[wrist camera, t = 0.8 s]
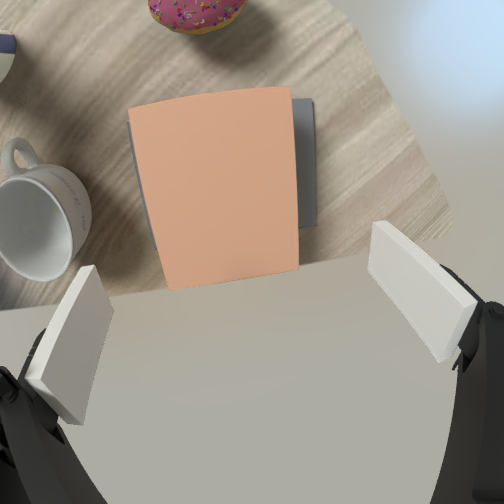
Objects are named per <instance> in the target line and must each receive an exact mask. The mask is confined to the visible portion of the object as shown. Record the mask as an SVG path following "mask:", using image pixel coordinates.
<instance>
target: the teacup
mask: <svg viewBox="0 0 504 504" xmlns="http://www.w3.org/2000/svg"><path fill="white" fill-rule="evenodd" d="M15 149H17V150H18V151H19V152H20V153H21V154H22V156H23V157H24V158H25V160H26V162H27V164H28V165H29V169H28V170H27V169H25V168H20V167H18V166H17V164H16V163H15V160H14V150H15ZM1 163H2V167H3V169H4V171H5V172H6V174H7V175H8V176H9V179H7V180H6V181H4V182H3V183H2V184H0V255H1V257H2V258H3V259H4V261H5V262H6V263H7V264H8V265H9V266H10V267H11V268H12V269H13V270H14V271H15V272H17V273H18V274H20V275H21V276H23V277H25V278H27V279H30V280H33V281H37V282H49V281H53V280H56V279H58V278H60V277H61V276H62V275H63V274H64V273H65V272H66V271H67V269H68V267H69V266H70V264H71V261H72V260H73V259H74V257H75V256H76V254H77V253H78V251H79V250H80V248H81V247H82V245H83V244H84V242H85V240H86V238H87V236H88V233H89V230H90V226H91V221H92V210H91V204H90V199H89V196H88V194H87V191H86V189H85V187H84V186H83V184H82V183H81V181H80V180H79V179H78V177H77V176H76V175H75V174H74V173H72V172H71V171H69V170H68V169H66V168H64V167H62V166H59V165H55V164H44V163H43V161H42V160H41V159H39V158H38V156H37V154H36V153H35V151H34V149H33V148H32V146H31V145H30V144H29V142H28V141H26V140H25V139H23V138H14V139H12V140H11V141H9V142H8V143H7V144H6V145H5V146H4V148H3V150H2V154H1Z"/></svg>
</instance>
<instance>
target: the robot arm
mask: <svg viewBox="0 0 504 504" xmlns="http://www.w3.org/2000/svg"><path fill="white" fill-rule="evenodd" d="M367 271H368V272H369V273H370V274H371V276H372V277H373V278H374V279H375V280H376V282H377V283H378V284H379V285H380V286H381V288H382V289H383V290H384V291H385V293H386V294H387V295H388V296H389V298H390V299H391V300H392V301H393V303H394V304H395V305H396V307H397V308H398V309H399V310H400V312H401V313H402V314H403V315H404V317H405V318H406V319H407V321H408V322H409V323H410V325H411V326H412V327H413V329H414V330H415V331H416V333H417V334H418V335H419V337H420V338H421V340H422V341H423V342H424V344H425V345H426V346H427V348H428V349H429V351H430V352H431V353H432V355H433V356H434V358H435V359H436V360H437V362H438V363H439V362H441V361H443V360H446V359H448V358H450V357H452V355H453V353H454V352H455V350H456V348H457V346H459V348H460V349H461V350H462V351H461V353H460V355H459V356H458V358H457V360H456V362H455V364H454V365H453V368H452V370H455V368H456V366H457V365H458V370H457V371H458V377H457V386H456V395H455V403H454V409H453V416H452V422H451V427H450V432H449V437H448V443H447V446H446V451H445V455H444V459H443V463H442V467H441V470H440V474H439V477H438V480H437V484H436V487H435V490H434V493H433V496H432V499H431V502H430V504H504V306H503V305H501V304H499V303H497V302H492V301H490V302H487V303H485V302H484V301H483V300H482V299H481V298H480V297H479V296H478V295H477V294H476V293H475V292H474V291H473V290H472V289H471V288H470V287H469V286H468V285H467V284H464V281H462V280H461V279H460V278H458V276H457V275H456V274H455V273H454V272H453V271H452V270H450V269H449V268H447V267H445V266H443V265H441V264H440V265H439V264H438V263H436V262H435V261H434V260H433V259H432V258H431V257H430V256H429V255H427V254H426V253H425V252H424V251H423V250H422V249H420V248H419V247H418V246H417V245H416V244H415V243H413V242H412V241H411V240H410V239H409V238H407V237H406V236H405V235H404V234H402V233H401V232H400V231H399V230H397V229H396V228H395V227H394V226H392V225H391V224H390V223H389V222H387V221H386V220H384V221H377V222H373V227H372V237H371V246H370V254H369V263H368V269H367ZM113 312H114V310H113V307H112V305H111V303H110V301H109V298H108V296H107V294H106V291H105V289H104V287H103V284H102V282H101V279H100V277H99V274H98V272H97V269H96V267H95V265H89V266H84V267H81V268H80V270H79V272H78V273H77V275H76V276H75V278H74V280H73V281H72V283H71V285H70V287H69V288H68V290H67V292H66V294H65V295H64V297H63V299H62V301H61V302H60V304H59V306H58V308H57V310H56V312H55V314H54V316H53V317H52V319H51V321H50V323H49V325H48V327H47V329H44V330H43V331H42V332H41V333H40V334H39V335H38V337H37V338H36V340H35V342H34V344H33V346H32V347H33V348H32V349H31V350H30V353H29V356H28V357H27V359H26V361H25V364H24V366H23V368H22V370H21V373H20V375H19V377H18V380H16V379H15V378H14V376H13V375H12V374H11V373H10V372H9V370H8V369H7V368H6V367H4V366H0V504H107V502H106V501H105V499H104V498H103V497H102V495H101V494H100V493H99V491H98V490H97V488H96V487H95V485H94V484H93V482H92V481H91V479H90V478H89V476H88V474H87V473H86V471H85V470H84V468H83V466H82V465H81V463H80V461H79V459H78V458H77V456H76V454H75V452H74V451H73V449H72V447H71V445H70V443H69V442H68V440H67V438H66V436H65V434H64V432H63V430H62V428H61V427H60V425H59V424H58V423H57V420H58V416H60V417H61V418H62V419H63V420H64V421H65V422H66V423H67V424H74V425H83V423H84V419H85V414H86V409H87V404H88V400H89V396H90V392H91V388H92V384H93V380H94V376H95V372H96V369H97V364H98V361H99V358H100V354H101V351H102V347H103V344H104V341H105V338H106V334H107V331H108V328H109V325H110V322H111V319H112V315H113Z"/></svg>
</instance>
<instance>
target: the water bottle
mask: <svg viewBox="0 0 504 504" xmlns="http://www.w3.org/2000/svg"><path fill="white" fill-rule="evenodd" d="M15 52H16V41H15V38H14V36H13V34H12V33H11V32H9V31H3V30H0V83H1V82H2V81H3V79H4V78H5V77H6V75H7V74H8V72H9V70H10V68H11V66H12V63H13V60H14V57H15Z"/></svg>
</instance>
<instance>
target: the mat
mask: <svg viewBox="0 0 504 504" xmlns="http://www.w3.org/2000/svg"><path fill="white" fill-rule="evenodd" d="M291 100H292V112H293V126H294V142H295V159H296V180H297V205H298V228H302V227H309V226H316V172H315V143H314V123H313V107H312V98H307V99H291ZM127 124H128V130H129V136H130V142H131V147H132V153H133V158H134V163H135V168H136V173H137V178H138V182H139V187H140V191H141V196H142V200H143V204H144V209H145V213H146V217H147V221H148V225H149V229H150V232H151V236H152V240H153V244H154V247H155V250H158V249H157V246H156V242H155V238H154V234H153V231H152V227H151V223H150V219H149V215H148V210H147V206H146V202H145V198H144V193H143V189H142V184H141V179H140V175H139V170H138V165H137V160H136V155H135V149H134V144H133V138H132V132H131V126H130V122H127Z"/></svg>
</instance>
